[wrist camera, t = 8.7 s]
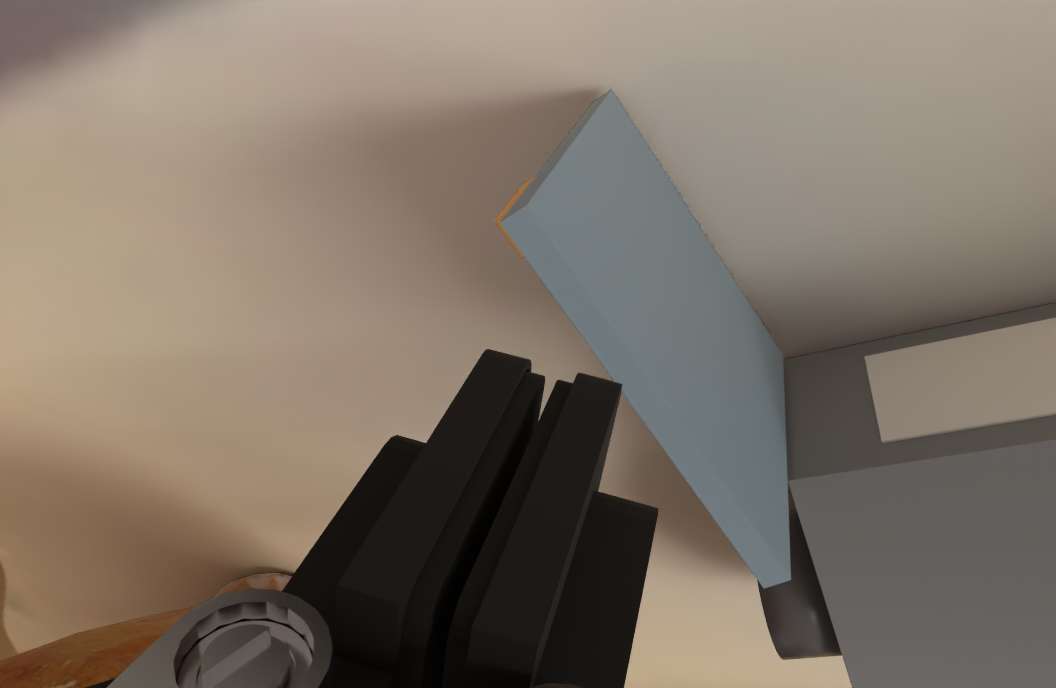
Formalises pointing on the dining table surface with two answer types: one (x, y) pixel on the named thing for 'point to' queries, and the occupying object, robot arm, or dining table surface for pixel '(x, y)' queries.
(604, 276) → the side door
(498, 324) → the dining table surface
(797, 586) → the box
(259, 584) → the jug
